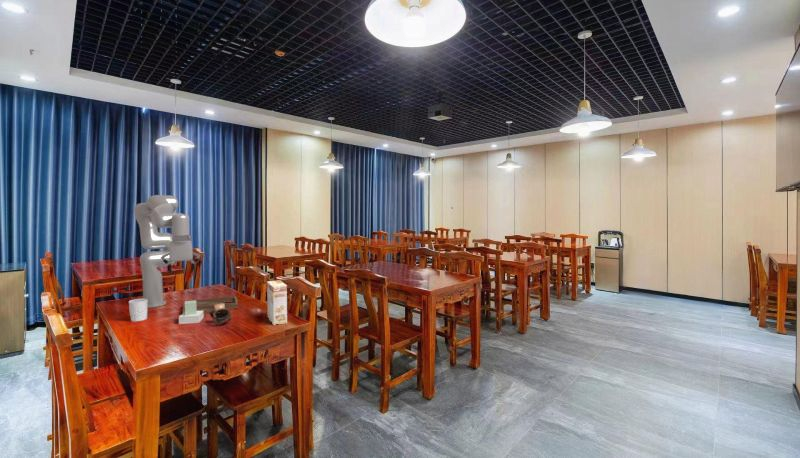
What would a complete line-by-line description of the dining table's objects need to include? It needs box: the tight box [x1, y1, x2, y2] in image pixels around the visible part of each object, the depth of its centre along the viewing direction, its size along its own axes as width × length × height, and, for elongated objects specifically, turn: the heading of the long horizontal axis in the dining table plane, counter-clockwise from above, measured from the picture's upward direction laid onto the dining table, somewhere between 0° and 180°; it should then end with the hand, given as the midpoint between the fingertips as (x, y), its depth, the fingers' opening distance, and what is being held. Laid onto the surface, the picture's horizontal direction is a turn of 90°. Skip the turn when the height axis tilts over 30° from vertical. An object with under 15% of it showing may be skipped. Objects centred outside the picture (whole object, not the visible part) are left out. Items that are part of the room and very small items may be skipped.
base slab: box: [178, 311, 204, 325], centre depth 183 cm, size 9×9×4 cm
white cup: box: [128, 298, 149, 322], centre depth 184 cm, size 8×8×10 cm
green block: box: [184, 299, 198, 315], centre depth 183 cm, size 5×5×6 cm
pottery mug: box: [209, 309, 232, 327], centre depth 180 cm, size 12×10×8 cm
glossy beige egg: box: [213, 303, 226, 313], centre depth 195 cm, size 5×5×5 cm
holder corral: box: [182, 295, 239, 314], centre depth 206 cm, size 17×27×4 cm, turn 118°
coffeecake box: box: [266, 279, 288, 326], centre depth 184 cm, size 15×7×20 cm, turn 31°
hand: (181, 271), depth 183 cm, fingers open, 9 cm apart
